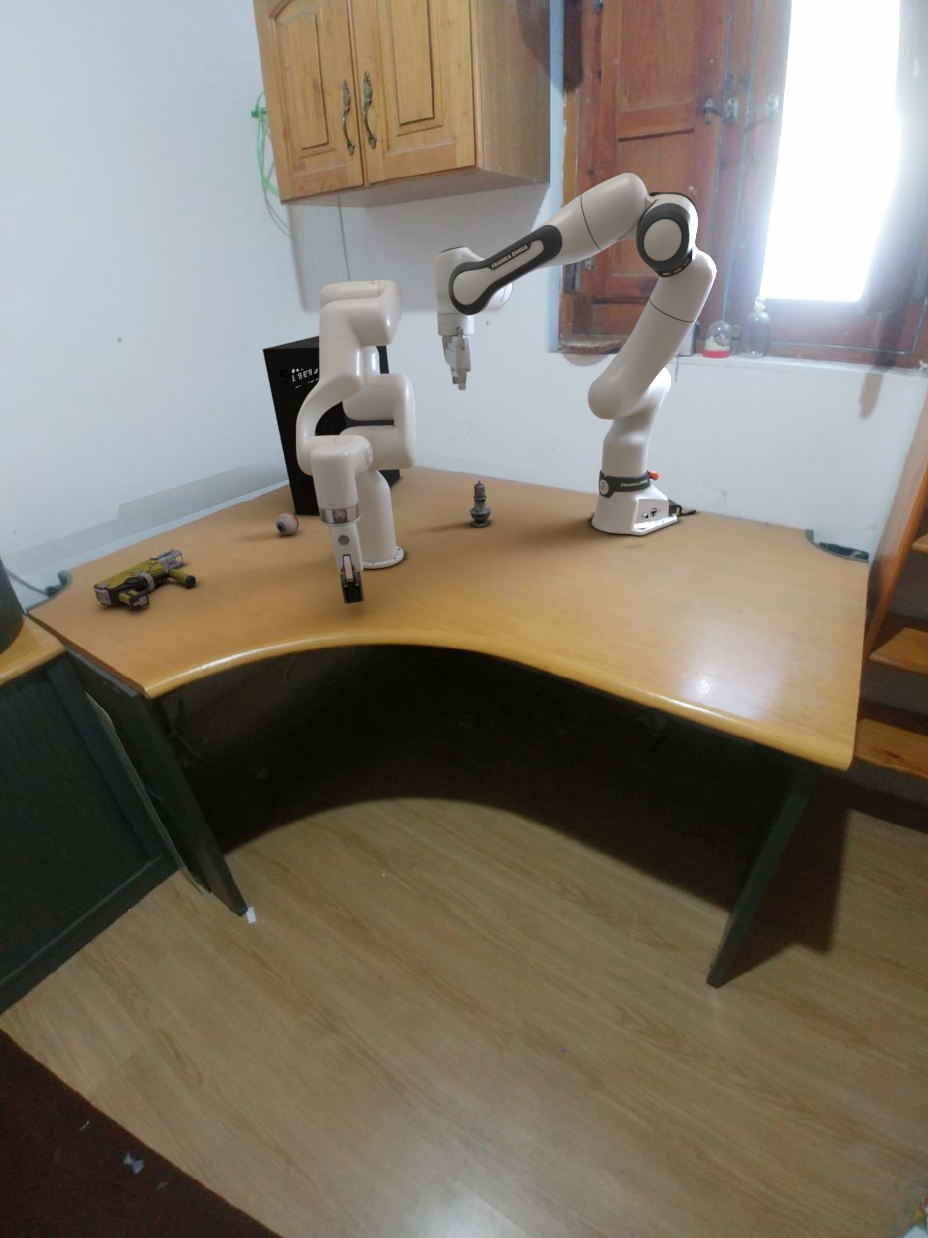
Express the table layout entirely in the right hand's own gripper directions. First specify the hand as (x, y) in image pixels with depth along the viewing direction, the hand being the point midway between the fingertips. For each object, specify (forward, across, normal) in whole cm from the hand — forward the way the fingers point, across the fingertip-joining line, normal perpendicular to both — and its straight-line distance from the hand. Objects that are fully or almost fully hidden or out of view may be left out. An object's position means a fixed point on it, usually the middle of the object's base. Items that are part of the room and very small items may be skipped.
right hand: (459, 386), depth 152 cm
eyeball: (+35, +2, +49) cm, 60 cm away
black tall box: (+35, +31, +32) cm, 57 cm away
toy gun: (+35, -24, +76) cm, 87 cm away
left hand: (+32, -47, +32) cm, 65 cm away
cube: (+32, -47, +31) cm, 65 cm away
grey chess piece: (+35, -6, -3) cm, 35 cm away
